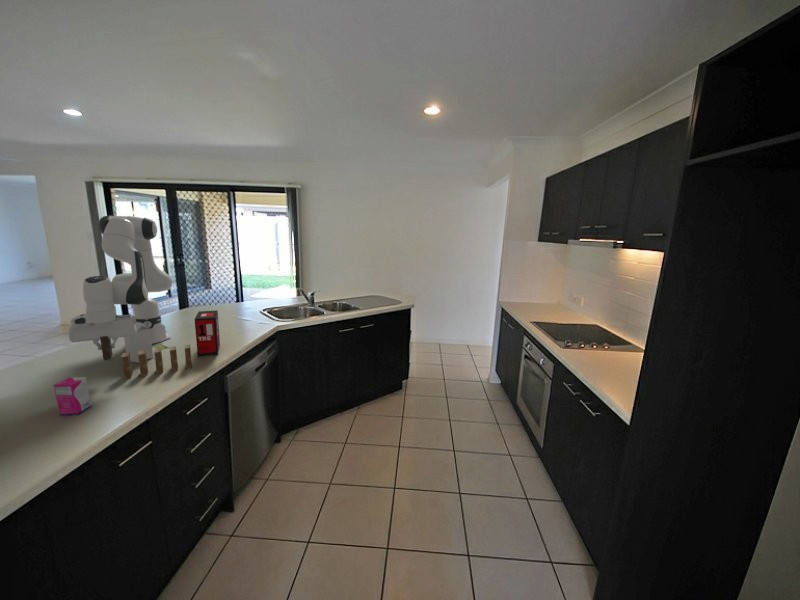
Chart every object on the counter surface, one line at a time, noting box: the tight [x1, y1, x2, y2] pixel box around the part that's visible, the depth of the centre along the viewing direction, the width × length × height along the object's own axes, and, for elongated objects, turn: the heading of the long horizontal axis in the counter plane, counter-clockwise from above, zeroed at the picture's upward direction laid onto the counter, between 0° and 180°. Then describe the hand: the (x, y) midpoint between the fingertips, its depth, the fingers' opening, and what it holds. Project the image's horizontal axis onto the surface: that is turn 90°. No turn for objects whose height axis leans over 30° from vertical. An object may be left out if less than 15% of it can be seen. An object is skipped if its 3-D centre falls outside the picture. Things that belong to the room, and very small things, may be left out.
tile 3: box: [138, 350, 149, 377], centre depth 138 cm, size 2×5×10 cm, turn 34°
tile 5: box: [169, 346, 179, 372], centre depth 144 cm, size 2×5×10 cm, turn 34°
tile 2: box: [120, 352, 133, 380], centre depth 135 cm, size 2×5×10 cm, turn 34°
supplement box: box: [52, 376, 93, 416], centre depth 108 cm, size 6×6×12 cm
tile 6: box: [183, 344, 193, 370], centre depth 147 cm, size 2×5×10 cm, turn 34°
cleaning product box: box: [194, 309, 221, 358], centre depth 167 cm, size 16×9×20 cm, turn 26°
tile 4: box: [153, 347, 164, 375], centre depth 141 cm, size 2×5×10 cm, turn 34°
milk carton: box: [123, 322, 154, 364], centre depth 152 cm, size 7×7×19 cm
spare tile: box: [99, 336, 114, 361], centre depth 130 cm, size 2×5×10 cm, turn 34°
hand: (106, 348), depth 130 cm, fingers closed on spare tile, 2 cm apart
